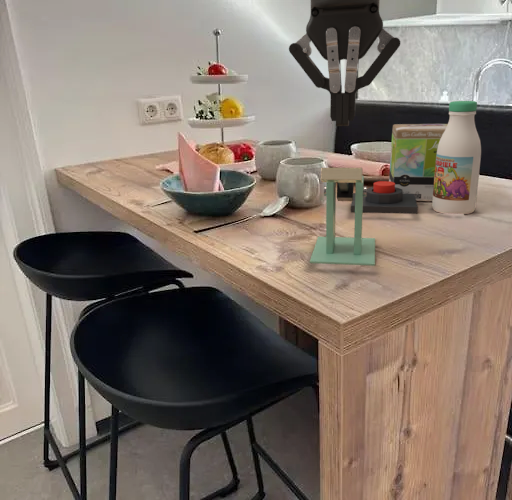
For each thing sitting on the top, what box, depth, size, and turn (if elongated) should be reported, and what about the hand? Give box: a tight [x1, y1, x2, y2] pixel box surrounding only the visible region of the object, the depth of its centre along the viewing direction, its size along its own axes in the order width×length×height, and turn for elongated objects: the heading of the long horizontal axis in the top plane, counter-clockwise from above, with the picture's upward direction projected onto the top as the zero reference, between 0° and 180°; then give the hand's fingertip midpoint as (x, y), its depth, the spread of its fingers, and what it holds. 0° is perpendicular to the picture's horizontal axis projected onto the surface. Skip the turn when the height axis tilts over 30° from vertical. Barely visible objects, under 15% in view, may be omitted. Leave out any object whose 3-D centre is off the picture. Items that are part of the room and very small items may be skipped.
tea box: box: [388, 123, 448, 202], centre depth 103 cm, size 15×10×15 cm, turn 80°
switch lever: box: [320, 167, 364, 202], centre depth 67 cm, size 12×5×2 cm, turn 167°
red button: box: [372, 180, 395, 193], centre depth 96 cm, size 4×4×2 cm
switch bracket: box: [309, 175, 376, 267], centre depth 73 cm, size 11×9×12 cm
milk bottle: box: [431, 100, 482, 215], centre depth 92 cm, size 8×8×20 cm
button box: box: [350, 186, 419, 215], centre depth 97 cm, size 12×10×4 cm
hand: (342, 125), depth 60 cm, fingers closed
